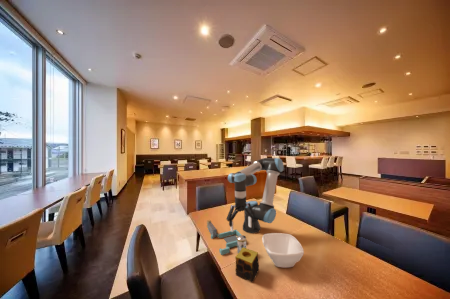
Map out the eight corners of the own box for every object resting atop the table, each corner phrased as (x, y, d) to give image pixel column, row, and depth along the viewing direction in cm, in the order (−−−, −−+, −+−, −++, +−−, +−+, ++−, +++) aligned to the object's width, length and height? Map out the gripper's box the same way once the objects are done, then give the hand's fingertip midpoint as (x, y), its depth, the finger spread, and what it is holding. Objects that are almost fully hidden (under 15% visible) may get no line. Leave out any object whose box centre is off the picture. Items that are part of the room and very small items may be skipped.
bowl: (260, 250, 104) (259, 232, 105) (293, 250, 104) (292, 232, 104) (268, 276, 82) (267, 254, 82) (310, 276, 82) (309, 254, 82)
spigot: (247, 251, 104) (247, 236, 104) (245, 256, 98) (244, 240, 98) (239, 248, 106) (238, 234, 106) (236, 254, 101) (235, 238, 101)
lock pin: (210, 227, 137) (210, 219, 137) (216, 236, 122) (216, 228, 122) (207, 228, 136) (206, 220, 136) (213, 237, 121) (212, 229, 121)
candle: (252, 283, 78) (252, 263, 79) (235, 275, 84) (234, 256, 84) (259, 270, 87) (258, 252, 87) (243, 263, 92) (242, 246, 93)
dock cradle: (235, 231, 129) (234, 228, 129) (249, 246, 109) (249, 242, 109) (210, 237, 121) (210, 233, 121) (221, 255, 100) (221, 250, 100)
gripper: (253, 193, 111) (253, 222, 111) (221, 197, 101) (221, 230, 101) (259, 195, 104) (260, 227, 104) (225, 201, 95) (226, 235, 94)
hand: (241, 228), depth 102 cm, fingers open, 13 cm apart
